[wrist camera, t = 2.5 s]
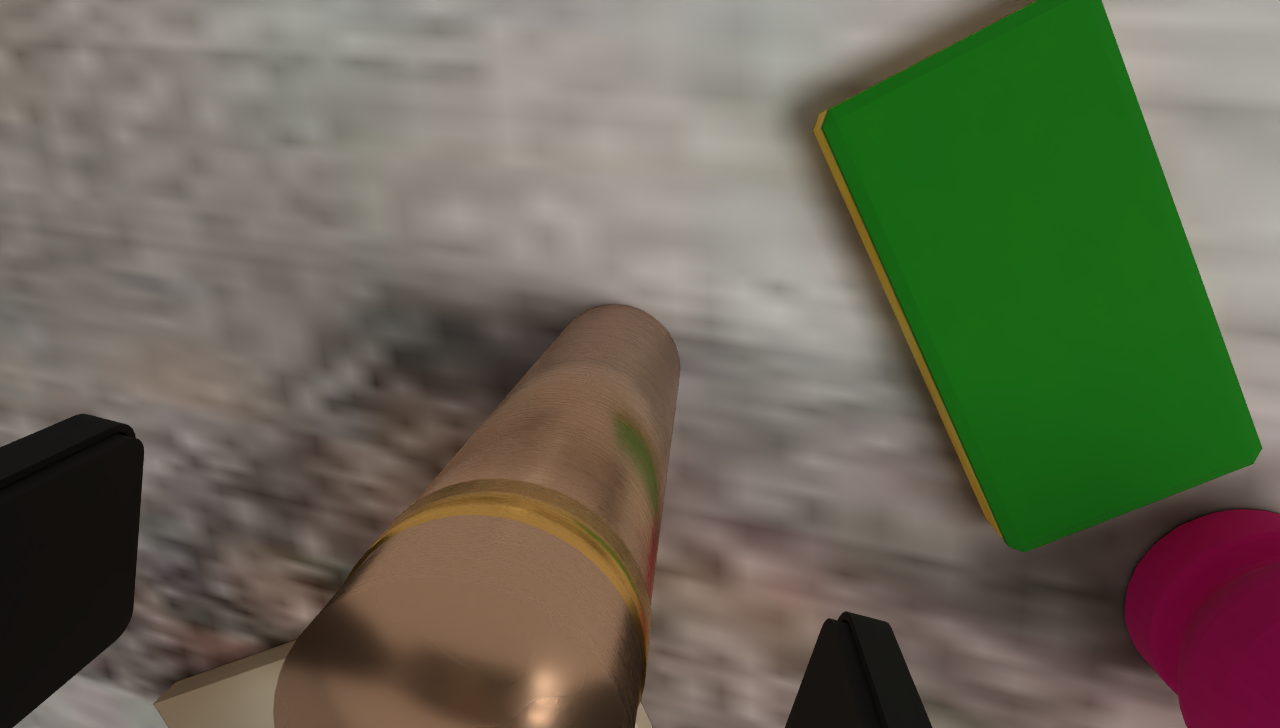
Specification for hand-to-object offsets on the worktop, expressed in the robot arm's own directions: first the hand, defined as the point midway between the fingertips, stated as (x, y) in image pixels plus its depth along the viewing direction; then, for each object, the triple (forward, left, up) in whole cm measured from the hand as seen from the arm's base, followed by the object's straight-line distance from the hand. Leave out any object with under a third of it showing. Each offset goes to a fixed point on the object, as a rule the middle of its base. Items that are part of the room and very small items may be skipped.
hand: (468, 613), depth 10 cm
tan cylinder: (0, 0, -14) cm, 14 cm away
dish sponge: (-2, -12, -15) cm, 19 cm away
